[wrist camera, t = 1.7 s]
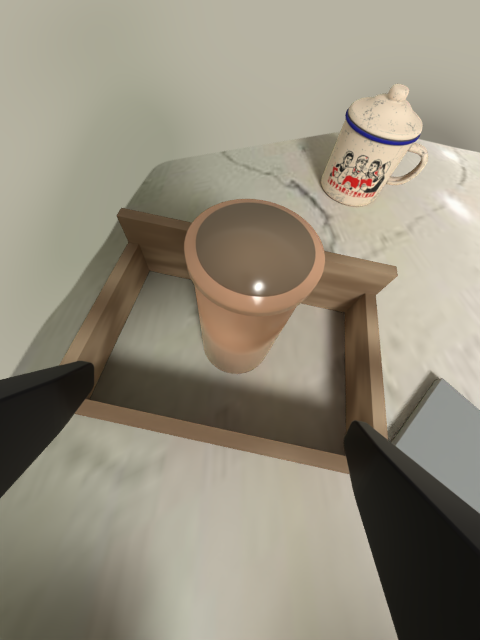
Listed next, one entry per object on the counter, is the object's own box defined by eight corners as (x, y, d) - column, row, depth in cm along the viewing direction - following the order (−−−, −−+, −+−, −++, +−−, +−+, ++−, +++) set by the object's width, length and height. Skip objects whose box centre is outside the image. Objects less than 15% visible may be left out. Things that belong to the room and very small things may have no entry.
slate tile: (503, 605, 16) (517, 613, 15) (374, 466, 19) (380, 467, 19) (549, 479, 20) (561, 481, 19) (435, 379, 23) (442, 378, 22)
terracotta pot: (229, 392, 21) (247, 336, 9) (186, 334, 23) (155, 228, 11) (284, 347, 23) (355, 257, 11) (241, 299, 25) (262, 180, 13)
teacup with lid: (313, 197, 34) (355, 92, 24) (324, 163, 38) (365, 61, 28) (394, 222, 33) (475, 125, 23) (396, 186, 37) (467, 89, 27)
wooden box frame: (358, 474, 19) (428, 493, 13) (70, 410, 19) (-2, 399, 13) (353, 306, 26) (396, 266, 20) (144, 261, 26) (121, 207, 20)
